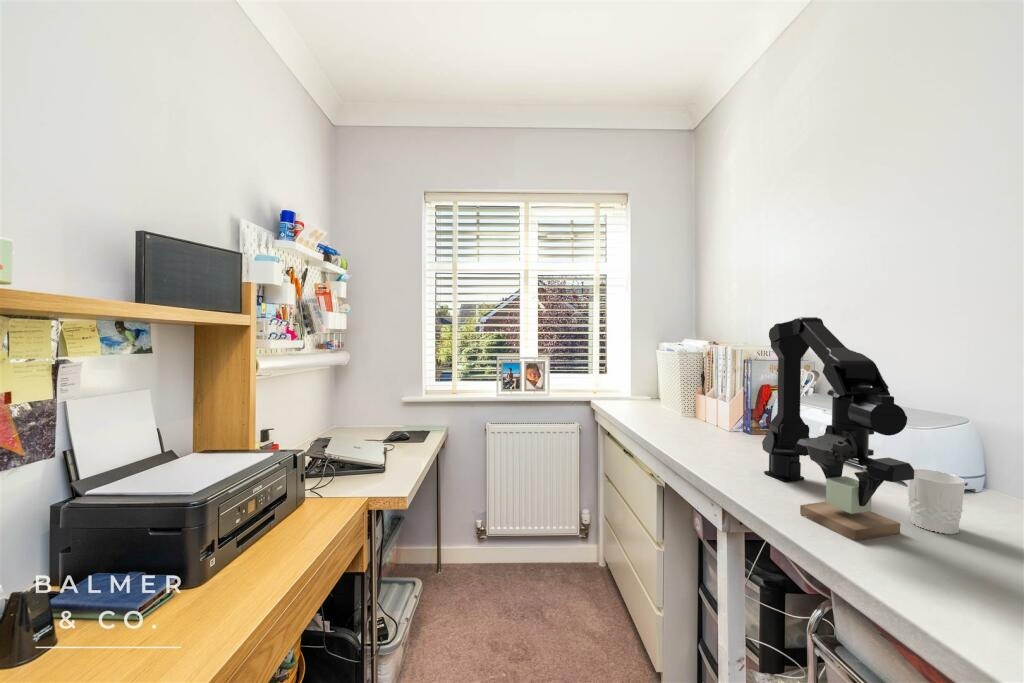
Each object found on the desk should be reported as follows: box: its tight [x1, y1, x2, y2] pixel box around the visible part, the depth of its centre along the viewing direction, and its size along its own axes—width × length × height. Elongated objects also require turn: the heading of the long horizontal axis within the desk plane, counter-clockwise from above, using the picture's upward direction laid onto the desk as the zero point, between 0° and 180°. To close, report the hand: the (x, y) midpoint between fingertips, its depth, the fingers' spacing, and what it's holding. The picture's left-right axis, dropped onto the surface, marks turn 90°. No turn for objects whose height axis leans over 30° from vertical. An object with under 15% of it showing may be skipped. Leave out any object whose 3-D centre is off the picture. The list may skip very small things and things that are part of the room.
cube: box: [825, 475, 873, 514], centre depth 83 cm, size 5×5×5 cm
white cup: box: [907, 468, 966, 535], centre depth 81 cm, size 8×8×10 cm
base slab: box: [799, 501, 901, 542], centre depth 83 cm, size 11×11×2 cm
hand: (848, 500), depth 83 cm, fingers closed on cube, 5 cm apart
